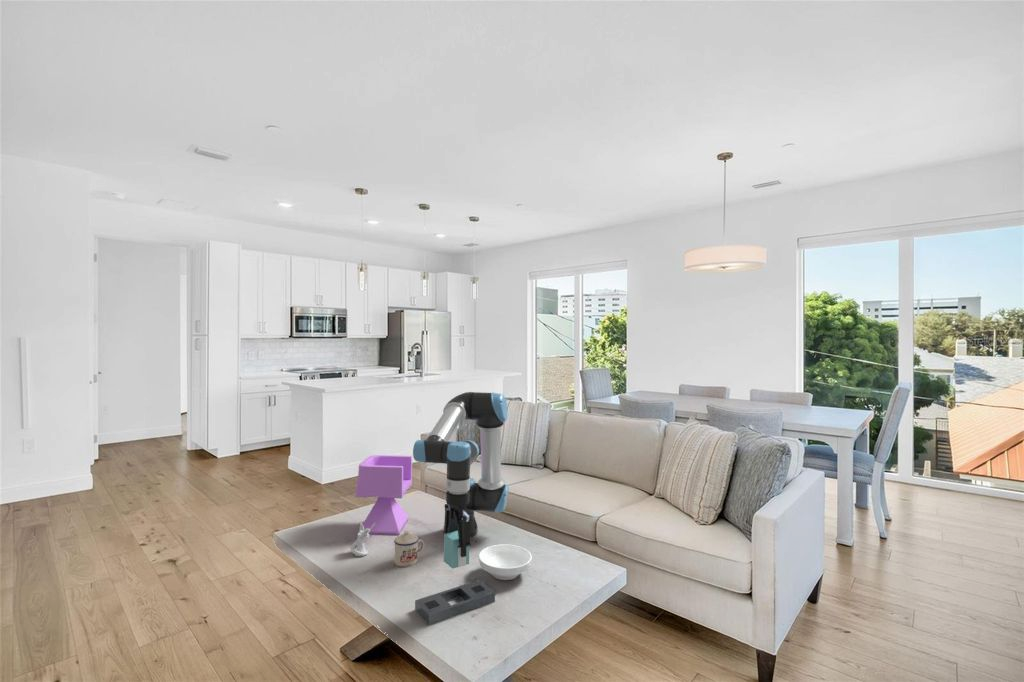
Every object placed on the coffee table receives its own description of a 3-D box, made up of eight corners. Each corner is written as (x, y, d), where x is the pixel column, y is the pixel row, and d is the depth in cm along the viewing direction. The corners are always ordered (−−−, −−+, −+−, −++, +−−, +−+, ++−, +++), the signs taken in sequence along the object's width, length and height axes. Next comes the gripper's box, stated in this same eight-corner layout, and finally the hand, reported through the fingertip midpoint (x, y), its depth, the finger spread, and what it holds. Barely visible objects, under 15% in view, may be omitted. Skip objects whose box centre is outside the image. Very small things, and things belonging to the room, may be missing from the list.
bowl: (537, 567, 185) (538, 549, 185) (521, 593, 167) (522, 572, 167) (490, 558, 192) (490, 540, 192) (469, 582, 173) (470, 562, 173)
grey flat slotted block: (479, 588, 169) (479, 579, 169) (494, 601, 161) (495, 592, 161) (414, 609, 155) (415, 600, 155) (428, 625, 147) (428, 615, 147)
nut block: (459, 556, 162) (460, 529, 162) (469, 563, 157) (469, 536, 157) (443, 561, 159) (444, 533, 159) (452, 568, 154) (453, 540, 154)
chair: (400, 536, 211) (402, 467, 210) (355, 535, 211) (356, 466, 211) (411, 518, 231) (412, 455, 230) (369, 517, 231) (370, 454, 231)
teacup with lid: (399, 569, 181) (400, 538, 181) (390, 560, 189) (390, 530, 188) (428, 561, 188) (429, 531, 188) (418, 552, 196) (419, 523, 196)
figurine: (357, 560, 189) (357, 529, 189) (346, 553, 194) (347, 523, 194) (381, 550, 197) (381, 521, 197) (370, 545, 202) (370, 516, 202)
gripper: (434, 484, 163) (432, 553, 164) (462, 501, 148) (460, 577, 148) (454, 481, 168) (452, 547, 168) (483, 497, 152) (481, 570, 152)
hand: (456, 561), depth 158 cm, fingers closed on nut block, 6 cm apart
